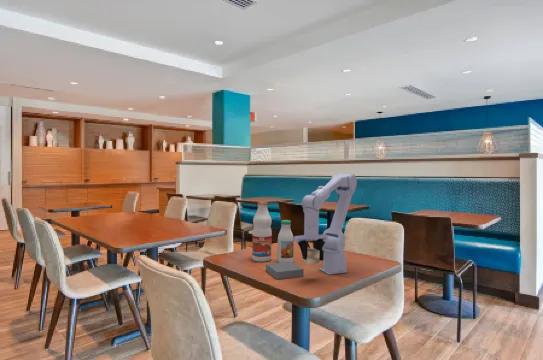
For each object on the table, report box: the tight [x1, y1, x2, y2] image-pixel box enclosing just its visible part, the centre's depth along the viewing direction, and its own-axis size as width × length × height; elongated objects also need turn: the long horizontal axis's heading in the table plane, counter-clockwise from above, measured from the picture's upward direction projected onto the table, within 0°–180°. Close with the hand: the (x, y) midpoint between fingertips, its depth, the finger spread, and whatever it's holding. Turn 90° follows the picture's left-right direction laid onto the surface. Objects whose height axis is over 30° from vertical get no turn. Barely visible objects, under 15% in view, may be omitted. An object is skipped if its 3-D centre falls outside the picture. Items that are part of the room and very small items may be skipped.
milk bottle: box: [276, 219, 295, 263], centre depth 156 cm, size 8×8×20 cm
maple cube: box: [301, 247, 320, 265], centre depth 132 cm, size 5×5×5 cm
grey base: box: [265, 262, 305, 280], centre depth 139 cm, size 12×12×3 cm
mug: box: [306, 241, 324, 261], centre depth 166 cm, size 8×12×10 cm
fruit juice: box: [251, 201, 273, 263], centre depth 160 cm, size 9×9×28 cm
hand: (310, 258), depth 132 cm, fingers closed on maple cube, 5 cm apart
